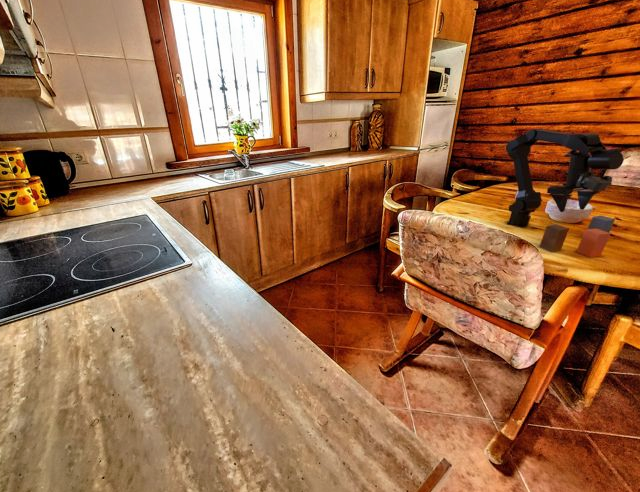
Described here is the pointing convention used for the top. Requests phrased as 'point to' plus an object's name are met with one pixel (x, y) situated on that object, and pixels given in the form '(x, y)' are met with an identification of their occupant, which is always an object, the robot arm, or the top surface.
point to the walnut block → (554, 237)
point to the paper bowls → (568, 211)
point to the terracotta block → (593, 242)
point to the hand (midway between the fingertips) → (571, 210)
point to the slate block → (601, 223)
